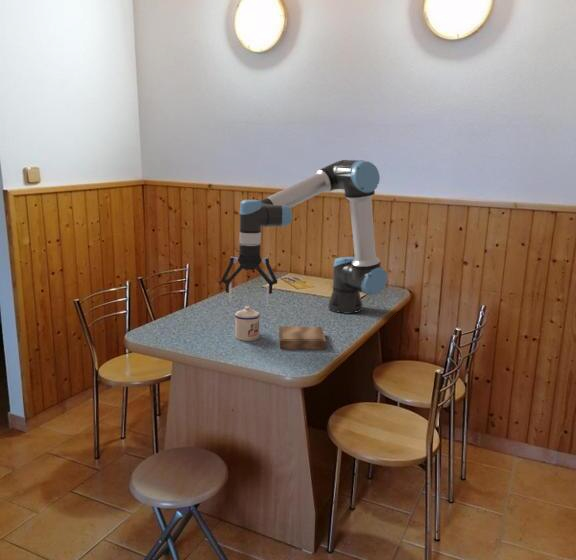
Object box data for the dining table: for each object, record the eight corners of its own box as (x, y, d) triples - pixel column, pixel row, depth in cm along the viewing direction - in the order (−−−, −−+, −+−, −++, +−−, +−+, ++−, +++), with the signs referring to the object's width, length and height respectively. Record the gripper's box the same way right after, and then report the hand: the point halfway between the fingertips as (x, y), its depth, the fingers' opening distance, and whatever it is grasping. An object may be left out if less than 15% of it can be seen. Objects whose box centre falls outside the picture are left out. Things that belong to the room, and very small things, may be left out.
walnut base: (321, 334, 207) (321, 326, 206) (325, 349, 191) (326, 340, 191) (278, 333, 206) (279, 325, 205) (279, 348, 191) (280, 339, 190)
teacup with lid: (250, 343, 196) (251, 311, 193) (229, 338, 200) (229, 307, 197) (268, 333, 206) (268, 304, 203) (247, 329, 210) (247, 300, 207)
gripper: (284, 243, 199) (282, 299, 204) (215, 241, 198) (215, 298, 203) (285, 246, 192) (283, 305, 197) (213, 244, 191) (213, 303, 195)
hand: (248, 301), depth 200 cm, fingers open, 13 cm apart
